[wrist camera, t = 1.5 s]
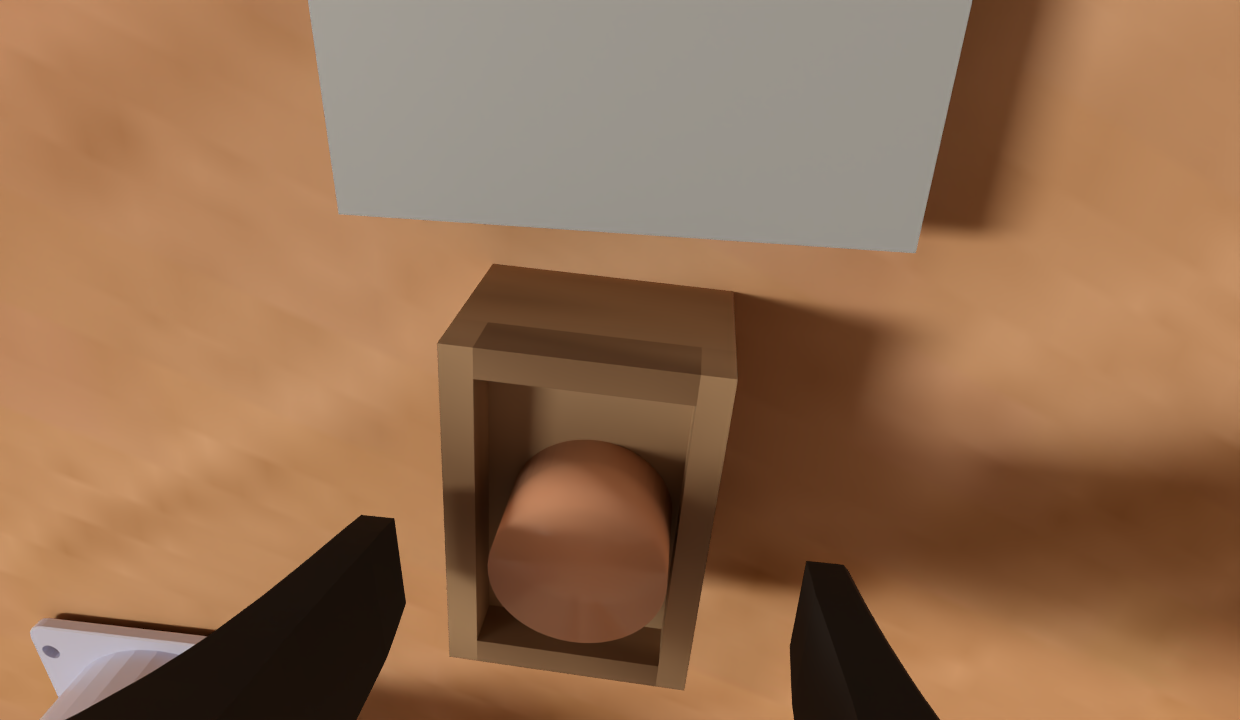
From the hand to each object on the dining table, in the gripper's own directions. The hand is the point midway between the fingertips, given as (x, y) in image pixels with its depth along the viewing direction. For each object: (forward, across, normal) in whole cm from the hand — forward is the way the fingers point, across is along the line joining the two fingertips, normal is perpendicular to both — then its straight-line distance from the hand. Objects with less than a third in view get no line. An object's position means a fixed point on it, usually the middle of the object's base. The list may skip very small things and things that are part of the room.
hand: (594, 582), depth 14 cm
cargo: (+2, 0, 0) cm, 2 cm away
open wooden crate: (+5, +1, 0) cm, 5 cm away
